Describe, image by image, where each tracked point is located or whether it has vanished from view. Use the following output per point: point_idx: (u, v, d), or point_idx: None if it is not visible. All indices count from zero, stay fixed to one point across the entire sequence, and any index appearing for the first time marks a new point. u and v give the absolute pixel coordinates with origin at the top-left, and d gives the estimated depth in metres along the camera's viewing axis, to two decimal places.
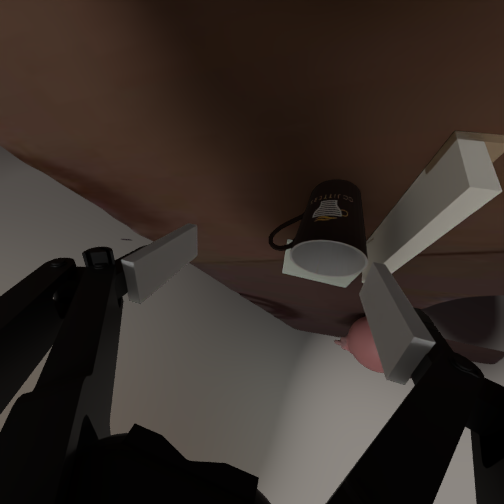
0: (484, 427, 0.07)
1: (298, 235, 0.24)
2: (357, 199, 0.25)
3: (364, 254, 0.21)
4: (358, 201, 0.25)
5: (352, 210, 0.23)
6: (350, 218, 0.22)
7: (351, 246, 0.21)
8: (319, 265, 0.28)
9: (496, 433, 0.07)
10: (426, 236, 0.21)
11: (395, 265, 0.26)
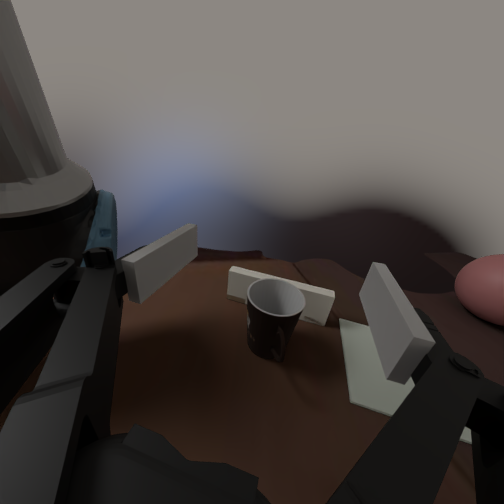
0: (484, 427, 0.07)
1: (257, 317, 0.28)
2: None
3: (261, 279, 0.34)
4: None
5: None
6: None
7: (253, 283, 0.33)
8: (300, 308, 0.30)
9: (496, 433, 0.07)
10: (261, 276, 0.40)
11: (295, 283, 0.39)
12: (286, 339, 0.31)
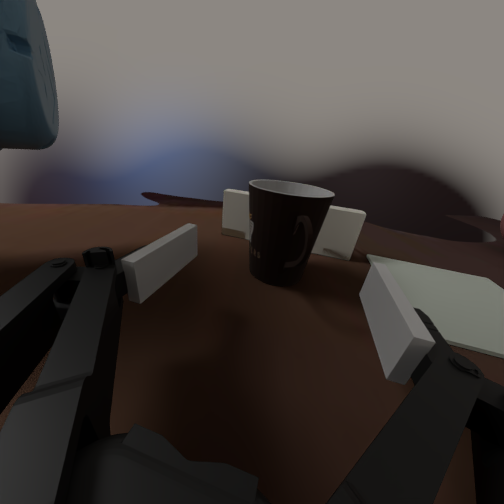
0: (484, 427, 0.07)
1: (265, 207, 0.19)
2: None
3: None
4: None
5: None
6: None
7: (257, 180, 0.23)
8: None
9: (496, 433, 0.07)
10: None
11: None
12: None
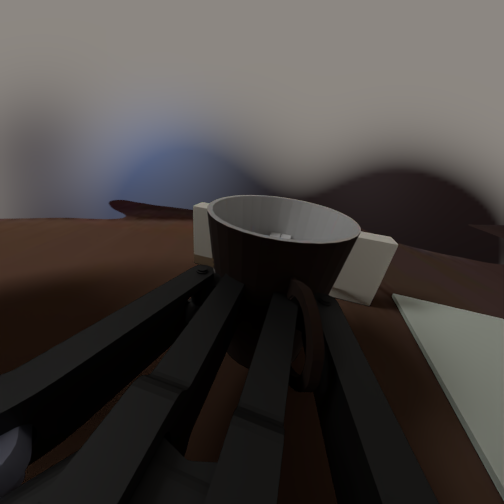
0: (298, 323, 0.10)
1: (230, 256, 0.10)
2: None
3: (249, 196, 0.15)
4: None
5: None
6: None
7: (229, 197, 0.14)
8: None
9: (303, 326, 0.10)
10: None
11: None
12: None
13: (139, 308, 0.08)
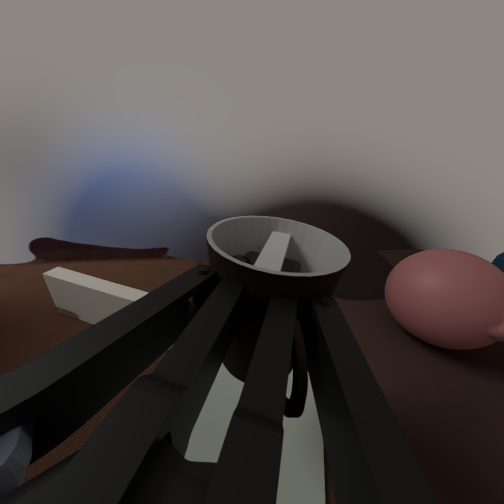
0: None
1: None
2: None
3: (248, 217, 0.16)
4: None
5: None
6: None
7: (228, 219, 0.15)
8: None
9: (302, 326, 0.10)
10: (86, 281, 0.28)
11: (131, 291, 0.27)
12: None
13: (140, 308, 0.08)
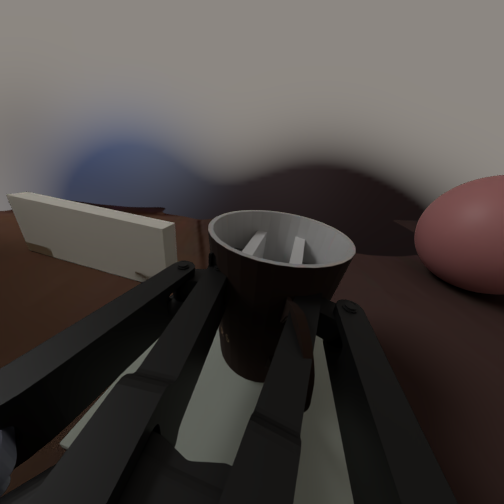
0: (321, 331, 0.10)
1: (229, 276, 0.10)
2: None
3: (249, 211, 0.16)
4: None
5: None
6: None
7: (229, 213, 0.15)
8: None
9: (326, 334, 0.10)
10: (59, 202, 0.23)
11: (112, 212, 0.22)
12: None
13: (121, 305, 0.08)
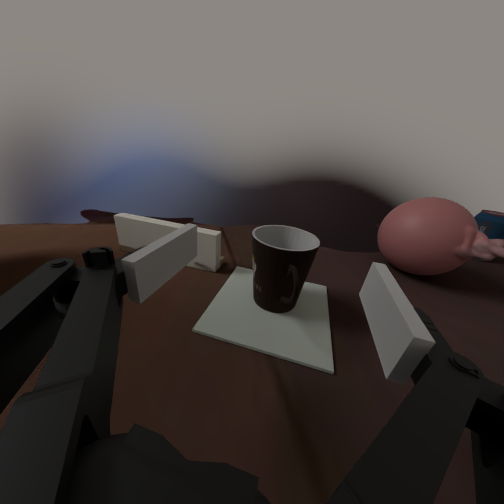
0: (484, 427, 0.07)
1: (264, 256, 0.24)
2: None
3: (268, 225, 0.30)
4: None
5: None
6: None
7: (259, 227, 0.29)
8: None
9: (496, 433, 0.07)
10: (147, 219, 0.37)
11: (181, 225, 0.36)
12: None
13: None
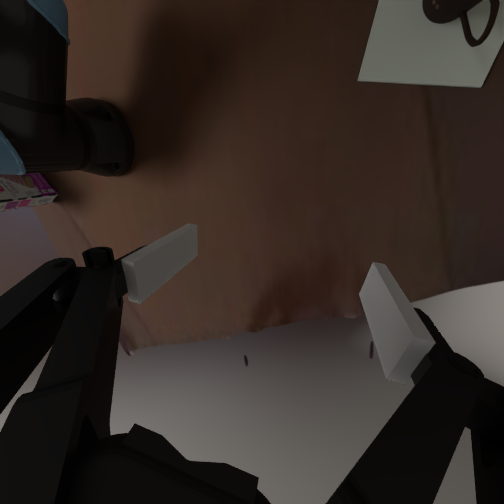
0: (484, 427, 0.07)
1: None
2: None
3: None
4: None
5: None
6: None
7: None
8: None
9: (496, 433, 0.07)
10: None
11: None
12: None
13: None
